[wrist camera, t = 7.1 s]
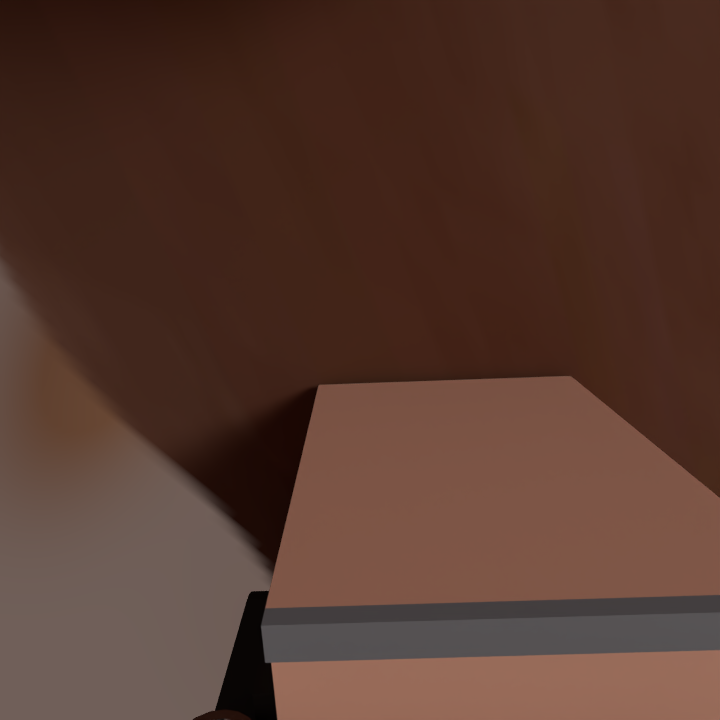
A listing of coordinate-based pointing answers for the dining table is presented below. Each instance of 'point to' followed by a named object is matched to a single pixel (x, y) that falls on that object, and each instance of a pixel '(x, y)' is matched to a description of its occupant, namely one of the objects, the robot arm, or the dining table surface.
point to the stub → (491, 561)
